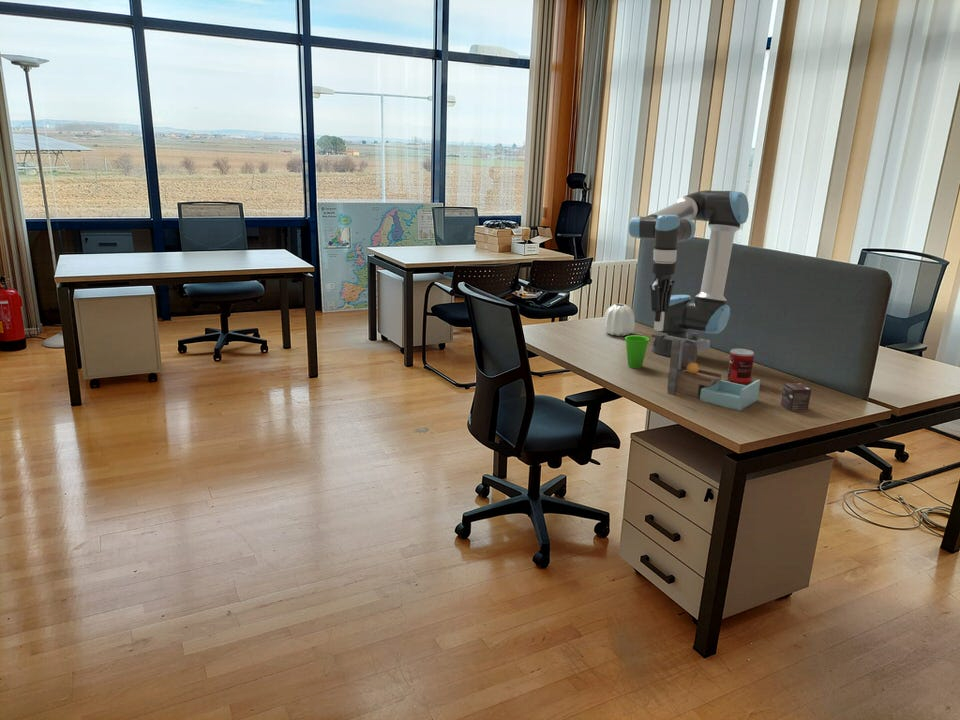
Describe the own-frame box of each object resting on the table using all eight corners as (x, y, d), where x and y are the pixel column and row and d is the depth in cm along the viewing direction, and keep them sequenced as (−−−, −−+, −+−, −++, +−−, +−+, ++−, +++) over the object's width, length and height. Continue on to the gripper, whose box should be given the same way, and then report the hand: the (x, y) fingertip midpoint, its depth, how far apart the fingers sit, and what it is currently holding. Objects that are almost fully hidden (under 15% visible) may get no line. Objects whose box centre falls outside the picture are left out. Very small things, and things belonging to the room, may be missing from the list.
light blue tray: (717, 390, 232) (720, 371, 230) (757, 400, 223) (760, 379, 221) (699, 400, 223) (701, 380, 221) (740, 410, 214) (743, 389, 212)
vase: (609, 338, 298) (611, 308, 294) (598, 330, 311) (600, 302, 307) (639, 337, 301) (641, 307, 297) (626, 329, 314) (628, 300, 310)
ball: (689, 371, 233) (690, 360, 232) (700, 374, 230) (701, 362, 229) (683, 374, 230) (684, 362, 229) (694, 376, 228) (696, 365, 226)
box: (780, 404, 220) (783, 383, 218) (798, 404, 220) (801, 382, 218) (790, 411, 214) (793, 389, 212) (808, 411, 214) (811, 389, 212)
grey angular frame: (682, 381, 241) (687, 331, 236) (723, 391, 231) (729, 338, 226) (662, 391, 231) (667, 338, 226) (704, 402, 221) (710, 347, 216)
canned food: (733, 376, 248) (736, 347, 245) (754, 381, 242) (758, 351, 239) (723, 380, 243) (726, 351, 239) (744, 386, 237) (748, 355, 234)
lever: (660, 360, 244) (663, 327, 240) (712, 371, 231) (715, 337, 228) (644, 367, 236) (647, 333, 232) (697, 379, 223) (700, 344, 220)
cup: (647, 370, 254) (649, 342, 251) (622, 368, 256) (624, 340, 252) (647, 363, 262) (649, 335, 259) (622, 362, 264) (624, 334, 261)
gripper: (663, 258, 236) (658, 325, 242) (644, 262, 226) (639, 331, 233) (683, 261, 231) (677, 328, 237) (664, 265, 222) (658, 335, 228)
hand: (658, 330), depth 235 cm, fingers closed
